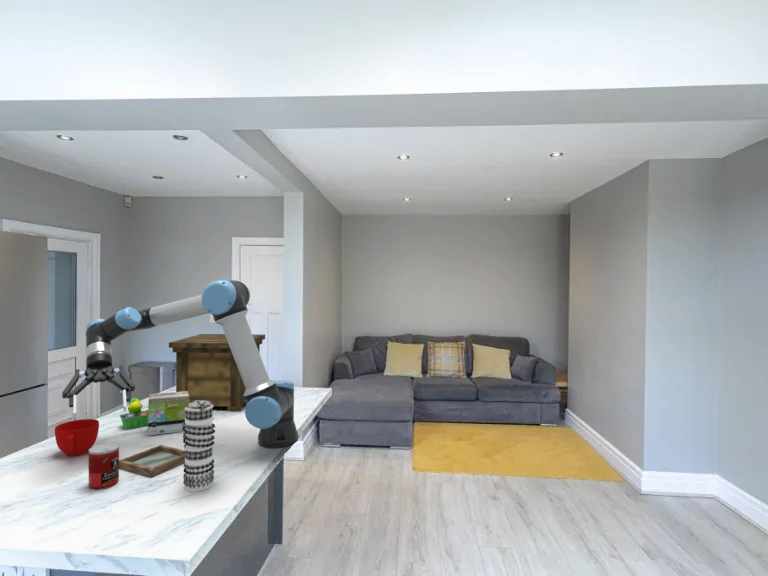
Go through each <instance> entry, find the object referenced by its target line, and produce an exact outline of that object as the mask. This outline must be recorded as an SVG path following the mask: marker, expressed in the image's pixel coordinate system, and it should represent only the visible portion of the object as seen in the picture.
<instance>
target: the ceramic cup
mask: <svg viewBox="0 0 768 576" xmlns="http://www.w3.org/2000/svg"><path fill="white" fill-rule="evenodd" d="M99 429H100V421H99V420H98V419H93V418H85V419H84V418H83V419H76V420H69V421H66V422H63V423H60V424H57V425H56V426H55V427H54V438H55V442H56V444H57V445H56V446H57V447H58V449H59V451H61V452H62V453H63V454H65V456H67V457H76V456H77V457H78V456H81V455H85V454H87V453H89V449H90V448H92V447H94V446H95V445H94V444H95V443H96V441H97V438H98V435H99Z"/></svg>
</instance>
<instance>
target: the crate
mask: <svg viewBox="0 0 768 576" xmlns="http://www.w3.org/2000/svg"><path fill="white" fill-rule="evenodd" d="M252 335H253V338H254V340H255V343H256V346H257V348H258V351H259V353H260V349H261V348H260V345H262V344H263V341H264V340H265V339H266V334H253V333H252ZM169 348H170V349H172V353H175V354H176V355H175V358H176V359H175V367H176V368H175V370H176V371H175V379H176V380H175V392H182V391H188V394H189V403H191V402H193V401H197V400H207V401H209V402H210V403H211V404H212V405H214V407H226V411H233V410H234V411H235V410H236V412H237V411H238V410H239V409H241V407H242V406H244V403H246V401H245V398H244V396H243V395H244V393H245V390H246V388H245V386H244V383H243V380H242V378H241V375H240V373H239V370H238V367H237V365H236V362H235V359H234V357H233V354H232V352H231V349H230V346H229V344H228V341H227V338H226V336H225V333H200V334H196V335H193V336H188V337H185V338H181V339H177V340H173V341H169V342H168V349H169Z"/></svg>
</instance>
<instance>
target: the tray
mask: <svg viewBox="0 0 768 576" xmlns="http://www.w3.org/2000/svg"><path fill="white" fill-rule="evenodd" d="M185 456H186V450H185V449H180V448H178V447H177V448H176V447H172V446H167V445H164V444H159V445H157V446H153V447H151V448H148V449H146V450H142V451H141V452H139V453H136V454H132V455H130V456H127V457H125V458H122V459H119V470H123V471H126V472H130V473H132V474H133V473H134V474H136V475H141V476H144V477H148V478H150V479H151V478H154V477H156V476H158V475H161V474H163V473H165V472H167V471H170V470H172V469H174V468H177V467H178V466H181V465H184V463H185Z"/></svg>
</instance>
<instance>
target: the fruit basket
mask: <svg viewBox="0 0 768 576" xmlns="http://www.w3.org/2000/svg"><path fill="white" fill-rule="evenodd" d="M129 401H130V402H129V404H128V406H127V410H128V412H126V413H124V414H123V413H121V414H120V415H119V418H120V419H121V422H122V426H123V428H124V427H125V428H126V429H127V430H131V429H130V428H132V429H136V428H135V427H138V428H142V427H141V426H143V427H147V426H146V425H148V409H145V410H142V408H143V404H142V403H141V401H140V399H138V398H136V397H133V398H131V399H129ZM125 428H124V429H125ZM126 429H125V430H126Z"/></svg>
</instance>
